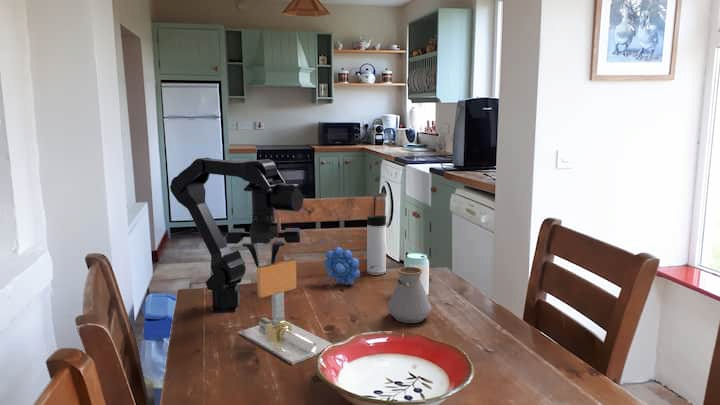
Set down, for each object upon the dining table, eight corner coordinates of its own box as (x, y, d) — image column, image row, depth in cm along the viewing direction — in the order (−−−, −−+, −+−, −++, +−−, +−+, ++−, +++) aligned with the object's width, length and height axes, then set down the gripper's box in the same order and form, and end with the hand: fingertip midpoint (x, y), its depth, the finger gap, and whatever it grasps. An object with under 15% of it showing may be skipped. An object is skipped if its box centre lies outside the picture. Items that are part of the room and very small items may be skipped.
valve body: (239, 333, 128) (239, 320, 128) (280, 320, 136) (280, 308, 136) (292, 364, 112) (292, 350, 112) (335, 347, 120) (335, 334, 120)
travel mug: (373, 277, 172) (373, 217, 169) (363, 272, 178) (363, 213, 175) (389, 274, 175) (390, 215, 172) (379, 269, 181) (380, 212, 178)
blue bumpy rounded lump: (320, 287, 162) (319, 249, 160) (326, 280, 169) (325, 244, 167) (357, 290, 160) (357, 251, 158) (361, 283, 166) (361, 246, 165)
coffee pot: (392, 307, 145) (392, 254, 143) (434, 311, 142) (435, 257, 140) (373, 339, 125) (373, 278, 122) (421, 344, 122) (423, 282, 119)
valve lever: (258, 328, 123) (256, 266, 121) (293, 317, 130) (292, 258, 127) (262, 330, 122) (260, 268, 119) (297, 319, 129) (296, 260, 126)
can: (418, 289, 160) (419, 251, 158) (433, 296, 154) (434, 256, 152) (399, 293, 157) (400, 254, 155) (413, 300, 151) (414, 259, 149)
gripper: (219, 215, 127) (222, 277, 129) (297, 214, 128) (299, 276, 130) (228, 207, 138) (231, 265, 140) (300, 206, 139) (301, 264, 141)
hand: (265, 267), depth 138 cm, fingers open, 3 cm apart
